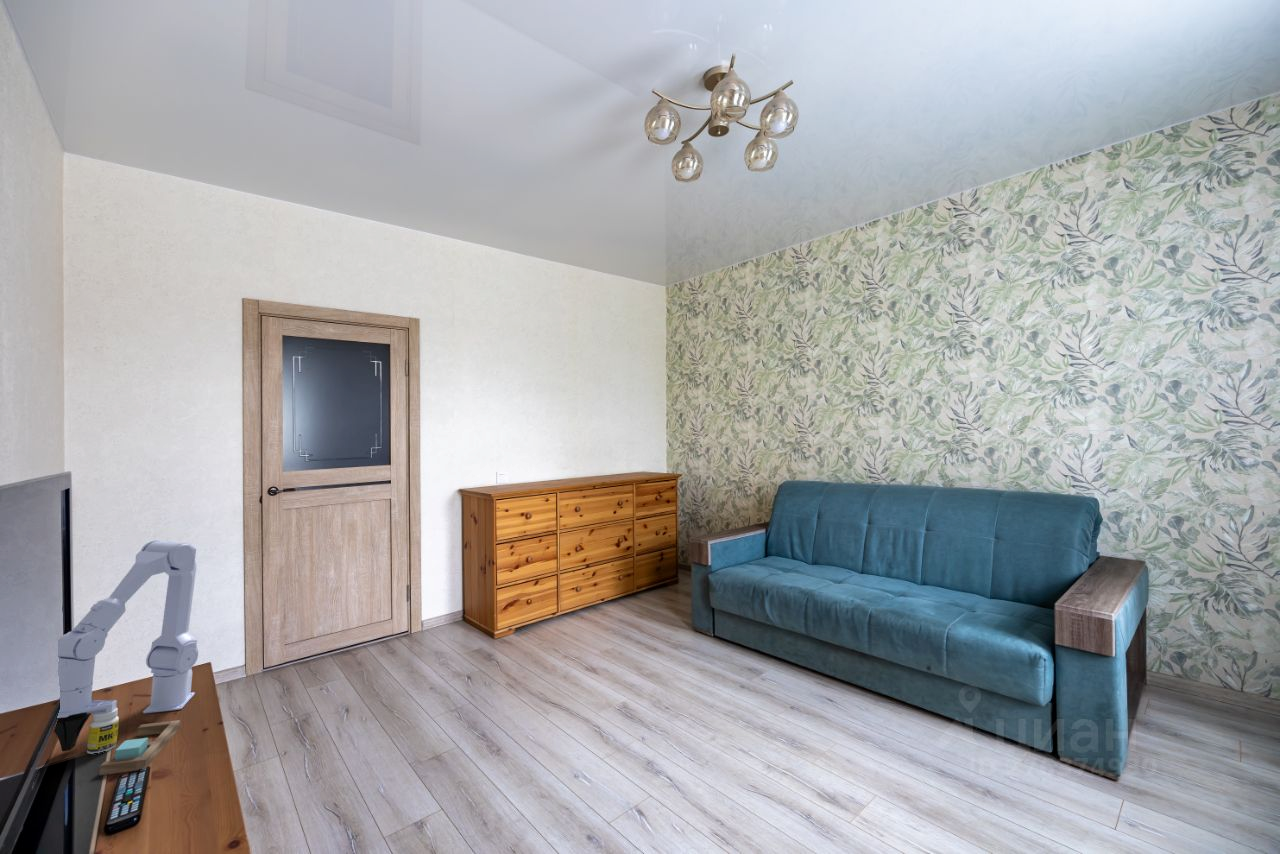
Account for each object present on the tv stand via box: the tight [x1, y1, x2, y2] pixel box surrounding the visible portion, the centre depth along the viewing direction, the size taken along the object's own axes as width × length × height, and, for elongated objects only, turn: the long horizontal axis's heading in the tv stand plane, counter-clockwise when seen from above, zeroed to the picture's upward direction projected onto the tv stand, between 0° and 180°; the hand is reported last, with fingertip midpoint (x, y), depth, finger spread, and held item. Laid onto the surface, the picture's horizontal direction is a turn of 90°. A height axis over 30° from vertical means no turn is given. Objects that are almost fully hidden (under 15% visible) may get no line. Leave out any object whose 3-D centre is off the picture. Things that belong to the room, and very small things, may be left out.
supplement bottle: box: [86, 707, 120, 755], centre depth 121 cm, size 5×5×8 cm
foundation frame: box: [98, 719, 181, 776], centre depth 121 cm, size 18×8×2 cm, turn 22°
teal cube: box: [114, 737, 149, 760], centre depth 116 cm, size 4×4×4 cm
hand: (68, 748), depth 118 cm, fingers closed
